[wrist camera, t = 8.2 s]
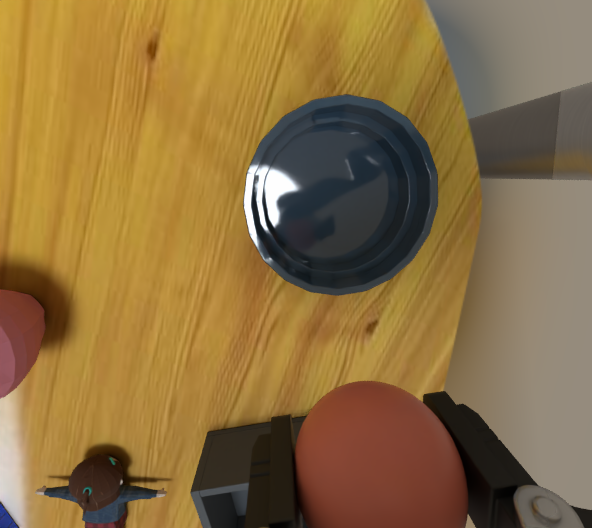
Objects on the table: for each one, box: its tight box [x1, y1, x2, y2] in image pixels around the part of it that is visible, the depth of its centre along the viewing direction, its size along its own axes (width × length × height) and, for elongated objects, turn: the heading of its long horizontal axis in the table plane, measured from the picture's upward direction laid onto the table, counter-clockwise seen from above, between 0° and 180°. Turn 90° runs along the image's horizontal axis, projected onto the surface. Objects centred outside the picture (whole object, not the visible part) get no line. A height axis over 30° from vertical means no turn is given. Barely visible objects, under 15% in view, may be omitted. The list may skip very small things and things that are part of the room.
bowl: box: [243, 94, 438, 296], centre depth 24 cm, size 14×14×5 cm
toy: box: [35, 454, 167, 528], centre depth 33 cm, size 14×5×15 cm
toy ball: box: [294, 381, 468, 528], centre depth 9 cm, size 5×5×5 cm
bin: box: [190, 416, 308, 528], centre depth 32 cm, size 14×14×7 cm
